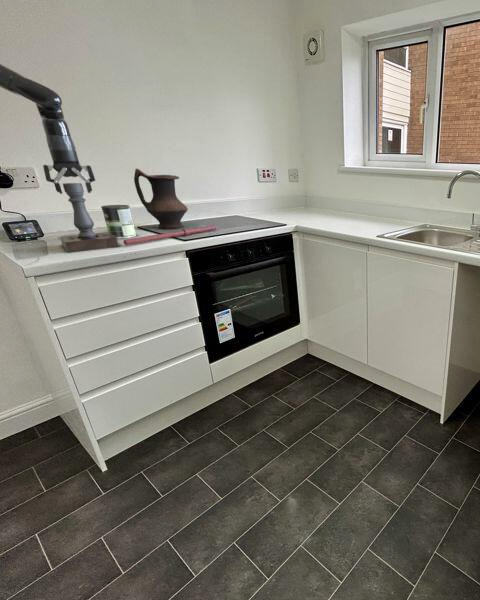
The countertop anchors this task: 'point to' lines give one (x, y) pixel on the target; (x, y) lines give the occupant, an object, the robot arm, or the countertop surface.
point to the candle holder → (79, 210)
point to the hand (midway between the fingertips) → (75, 193)
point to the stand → (89, 242)
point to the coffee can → (119, 221)
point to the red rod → (168, 235)
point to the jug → (162, 200)
